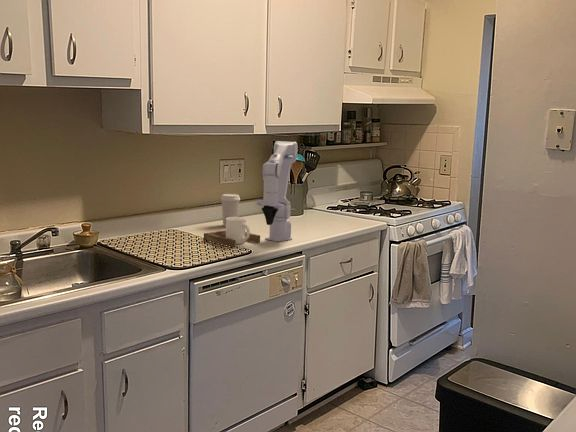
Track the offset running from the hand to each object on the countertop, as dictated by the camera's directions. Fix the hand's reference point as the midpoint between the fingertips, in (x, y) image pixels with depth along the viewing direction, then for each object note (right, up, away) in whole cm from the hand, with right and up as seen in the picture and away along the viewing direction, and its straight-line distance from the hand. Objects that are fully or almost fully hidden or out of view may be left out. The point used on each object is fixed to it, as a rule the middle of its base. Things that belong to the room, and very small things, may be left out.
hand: (269, 224), depth 241 cm
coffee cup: (-21, -1, +43) cm, 48 cm away
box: (-16, -7, +9) cm, 20 cm away
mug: (-13, -8, +6) cm, 17 cm away
